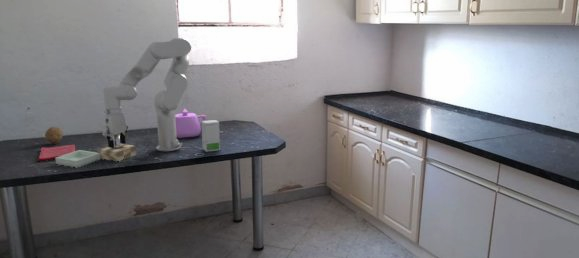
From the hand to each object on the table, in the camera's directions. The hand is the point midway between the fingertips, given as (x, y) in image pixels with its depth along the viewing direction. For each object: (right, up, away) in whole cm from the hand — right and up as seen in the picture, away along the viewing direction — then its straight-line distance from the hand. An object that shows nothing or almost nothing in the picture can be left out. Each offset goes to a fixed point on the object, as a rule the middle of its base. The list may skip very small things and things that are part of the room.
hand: (117, 145), depth 220 cm
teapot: (+25, +4, +43) cm, 50 cm away
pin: (0, -6, +1) cm, 6 cm away
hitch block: (0, -6, +1) cm, 6 cm away
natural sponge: (-46, -1, +26) cm, 53 cm away
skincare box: (+45, -3, +13) cm, 47 cm away
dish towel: (-34, -6, +8) cm, 36 cm away
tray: (-17, -8, -6) cm, 19 cm away
